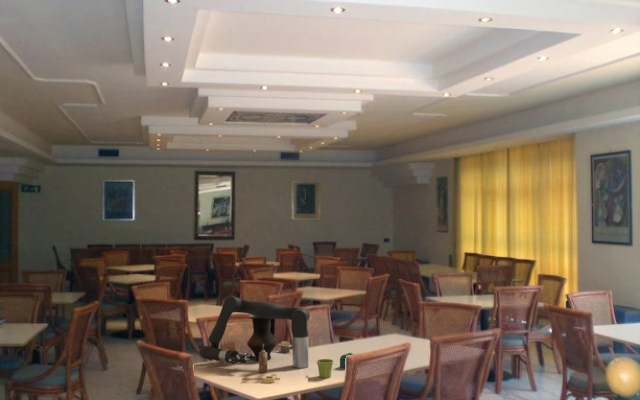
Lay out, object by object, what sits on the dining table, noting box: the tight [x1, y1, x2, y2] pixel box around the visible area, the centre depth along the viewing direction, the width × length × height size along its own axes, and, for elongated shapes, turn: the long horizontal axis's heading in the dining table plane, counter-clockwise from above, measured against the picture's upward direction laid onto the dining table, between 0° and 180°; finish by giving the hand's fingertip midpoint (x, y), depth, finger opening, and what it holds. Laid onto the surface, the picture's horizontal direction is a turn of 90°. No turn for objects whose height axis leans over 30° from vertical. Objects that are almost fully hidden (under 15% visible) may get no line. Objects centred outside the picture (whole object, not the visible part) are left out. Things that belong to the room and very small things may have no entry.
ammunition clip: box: [219, 339, 236, 363], centre depth 386 cm, size 11×2×12 cm, turn 133°
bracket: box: [339, 352, 354, 369], centre depth 366 cm, size 18×7×8 cm, turn 55°
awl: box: [258, 344, 268, 374], centre depth 353 cm, size 5×5×17 cm
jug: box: [246, 314, 279, 361], centre depth 392 cm, size 21×18×30 cm
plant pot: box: [316, 358, 335, 379], centre depth 348 cm, size 9×9×9 cm
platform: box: [278, 340, 292, 354], centre depth 411 cm, size 12×18×7 cm, turn 48°
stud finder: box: [263, 376, 275, 384], centre depth 335 cm, size 5×6×2 cm
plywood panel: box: [239, 373, 282, 384], centre depth 340 cm, size 20×18×1 cm
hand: (250, 359), depth 358 cm, fingers open, 8 cm apart
